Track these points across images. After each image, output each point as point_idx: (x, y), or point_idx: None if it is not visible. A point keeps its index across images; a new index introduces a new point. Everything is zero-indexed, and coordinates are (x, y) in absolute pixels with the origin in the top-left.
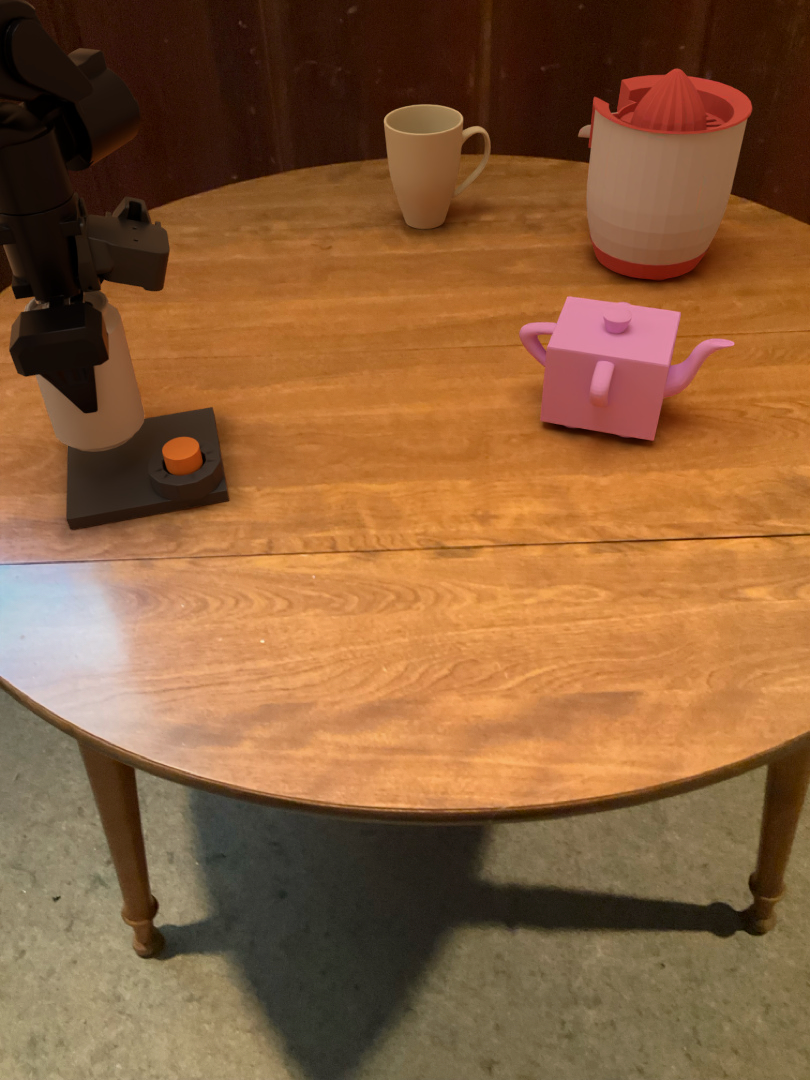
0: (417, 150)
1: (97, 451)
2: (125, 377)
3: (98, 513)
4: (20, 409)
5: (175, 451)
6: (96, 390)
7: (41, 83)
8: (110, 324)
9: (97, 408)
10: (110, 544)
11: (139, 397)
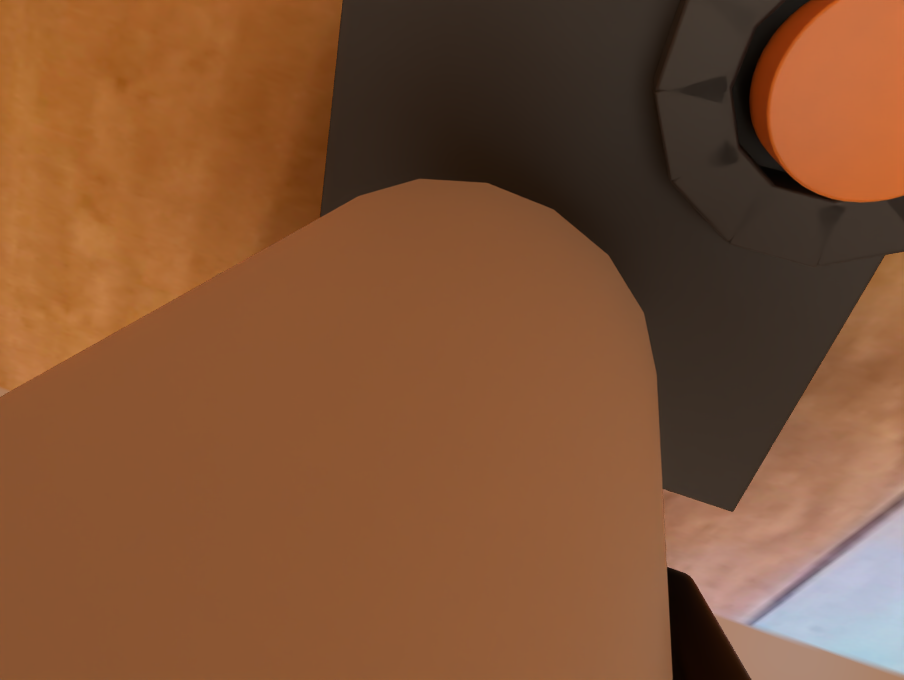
0: None
1: None
2: (578, 418)
3: (777, 435)
4: None
5: (893, 134)
6: (696, 677)
7: None
8: None
9: (698, 590)
10: (887, 421)
11: (492, 227)
